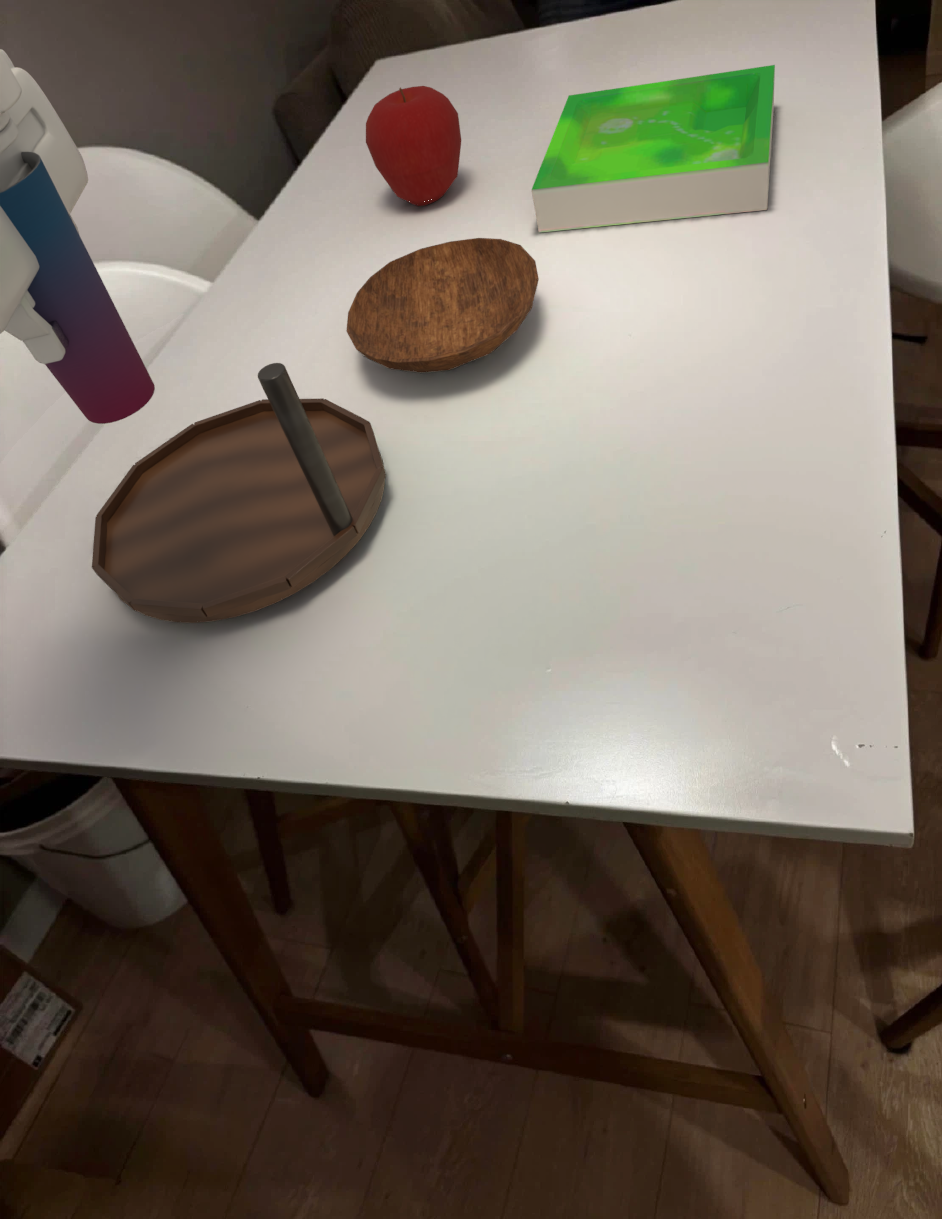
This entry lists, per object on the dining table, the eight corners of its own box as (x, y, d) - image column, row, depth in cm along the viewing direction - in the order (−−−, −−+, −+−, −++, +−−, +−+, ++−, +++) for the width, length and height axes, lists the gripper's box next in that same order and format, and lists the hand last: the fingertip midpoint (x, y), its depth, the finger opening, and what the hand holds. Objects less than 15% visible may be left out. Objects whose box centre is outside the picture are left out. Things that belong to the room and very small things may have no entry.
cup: (115, 441, 57) (-35, 215, 46) (53, 421, 60) (-100, 206, 49) (187, 379, 60) (63, 153, 49) (125, 363, 64) (-4, 149, 53)
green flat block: (538, 232, 103) (531, 189, 99) (574, 135, 118) (568, 95, 114) (767, 209, 95) (768, 162, 91) (773, 109, 110) (774, 64, 106)
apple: (472, 209, 110) (446, 94, 101) (382, 228, 112) (348, 117, 103) (474, 167, 118) (450, 56, 108) (390, 185, 120) (359, 79, 110)
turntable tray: (411, 557, 70) (342, 384, 58) (98, 665, 70) (-36, 514, 58) (360, 384, 88) (299, 223, 75) (110, 470, 88) (9, 323, 75)
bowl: (547, 266, 97) (539, 222, 94) (545, 387, 83) (536, 341, 79) (376, 296, 101) (362, 255, 98) (346, 416, 87) (329, 374, 84)
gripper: (-62, 40, 53) (67, 256, 63) (-223, 187, 39) (-26, 432, 50) (34, 11, 52) (149, 235, 62) (-97, 151, 39) (77, 408, 49)
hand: (71, 324), depth 56 cm, fingers closed on cup, 6 cm apart
